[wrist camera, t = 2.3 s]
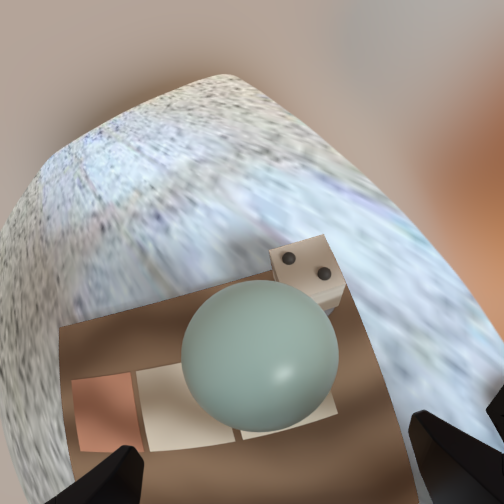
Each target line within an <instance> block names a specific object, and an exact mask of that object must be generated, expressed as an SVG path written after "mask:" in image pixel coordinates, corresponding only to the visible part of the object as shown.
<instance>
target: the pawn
mask: <svg viewBox="0 0 504 504" xmlns="http://www.w3.org/2000/svg"><path fill="white" fill-rule="evenodd" d="M338 362H339V350H338V343H337V338H336V335H335V331H334V329H333V326H332V324H331V322H330V320H329V318H328V317H327V315H326V313H325V312H324V311H323V310H322V308H321V307H320V306H319V305H318V304H317V303H316V302H315V301H314V300H313V299H312V298H310V297H309V296H308V295H306V294H305V293H304V292H302V291H300V290H298V289H297V288H295V287H292V286H290V285H287V284H284V283H280V282H276V281H269V280H252V281H245V282H240V283H237V284H234V285H231V286H228V287H226V288H224V289H222V290H220V291H219V292H217V293H215V294H214V295H212V296H211V297H210V298H209V299H208V300H206V301H205V302H204V303H203V304H202V305H201V306H200V308H199V309H198V310H197V311H196V313H195V314H194V316H193V317H192V319H191V321H190V322H189V324H188V327H187V329H186V331H185V335H184V338H183V342H182V349H181V363H182V370H183V374H184V378H185V381H186V384H187V386H188V389H189V391H190V393H191V394H192V396H193V398H194V399H195V400H196V402H197V403H198V404H199V405H200V407H202V408H203V409H204V410H205V411H206V412H207V413H208V414H209V415H210V416H212V417H213V418H214V419H216V420H217V421H219V422H221V423H223V424H225V425H226V426H229V427H232V428H234V429H238V430H242V431H247V432H271V431H277V430H281V429H284V428H287V427H290V426H292V425H294V424H296V423H298V422H300V421H302V420H303V419H305V418H306V417H308V416H309V415H310V414H311V413H313V412H314V411H315V410H316V409H317V408H318V407H319V406H320V404H321V403H322V402H323V401H324V399H325V398H326V396H327V395H328V393H329V392H330V390H331V387H332V385H333V383H334V380H335V377H336V374H337V369H338Z"/></svg>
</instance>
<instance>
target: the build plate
mask: <svg viewBox="0 0 504 504" xmlns="http://www.w3.org/2000/svg"><path fill="white" fill-rule="evenodd" d="M486 412H487V414H488V415H489V417H490V419H491V420H492V422H493V424H494V426H495V427H496V429H497V431H498V433H499V435H500V436H501V438H502V440H503V442H504V385H503V387H502V388H501V389H500V391H499V392H498V394H497V395H496V396H495V398H494V399H493V400H492V402H491V403H490V404H489V406H488V407H487V408H486Z"/></svg>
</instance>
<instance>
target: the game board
mask: <svg viewBox="0 0 504 504" xmlns="http://www.w3.org/2000/svg"><path fill="white" fill-rule="evenodd" d="M269 254H270V260H271V265H272V270H270V271H267V272H263V273H260V274H256V275H253V276H250V277H246V278H243V279H239V280H236V281H232V282H229V283H225V284H222V285H218V286H215V287H211V288H208V289H204V290H201V291H197V292H193V293H190V294H186V295H183V296H179V297H175V298H172V299H168V300H164V301H161V302H157V303H153V304H149V305H146V306H142V307H138V308H134V309H131V310H127V311H123V312H119V313H115V314H111V315H108V316H104V317H100V318H96V319H92V320H88V321H84V322H80V323H76V324H72V325H68V326H64V327H60V328H59V366H60V386H61V399H62V409H63V418H64V425H65V432H66V439H67V445H68V450H69V455H70V460H71V465H72V470H73V474H74V478H75V482H76V481H77V480H78V479H80V478H81V477H82V476H84V475H85V474H86V473H87V472H89V471H90V470H91V469H93V468H94V467H95V466H97V465H98V464H99V463H100V462H102V461H103V460H104V459H105V458H107V457H108V456H109V455H110V454H112V453H113V452H114V451H115V450H117V449H118V448H119V447H120V446H122V445H130V446H134V447H135V448H136V449H137V451H138V452H139V454H140V455H141V457H142V458H143V460H144V473H143V482H142V491H141V499H140V504H418V503H419V499H418V495H417V490H416V486H415V482H414V478H413V474H412V470H411V466H410V462H409V459H408V455H407V451H406V448H405V444H404V441H403V437H402V434H401V431H400V427H399V424H398V421H397V417H396V414H395V411H394V408H393V405H392V402H391V399H390V396H389V393H388V390H387V387H386V384H385V381H384V378H383V375H382V373H381V370H380V367H379V364H378V362H377V359H376V356H375V353H374V351H373V348H372V345H371V343H370V340H369V338H368V335H367V332H366V330H365V327H364V325H363V322H362V320H361V317H360V315H359V312H358V310H357V308H356V305H355V303H354V300H353V298H352V296H351V293H350V291H349V289H348V286H347V284H346V282H345V279H344V277H343V275H342V272H341V270H340V268H339V266H338V263H337V261H336V259H335V257H334V255H333V252H332V251H331V249H330V247H329V244H328V242H327V240H326V238H325V236H324V234H322V235H319V236H316V237H312V238H309V239H305V240H302V241H299V242H295V243H292V244H288V245H285V246H281V247H278V248H275V249H271V250H269ZM252 280H269V281H276V282H280V283H284V284H287V285H290V286H292V287H295V288H297V289H298V290H300V291H302V292H304V293H305V294H306V295H308V296H309V297H310V298H312V299H313V300H314V301H315V302H316V303H317V304H318V305H319V306H320V307H321V308H322V310H323V311H324V312H325V313H326V315H327V317H328V318H329V320H330V322H331V324H332V326H333V329H334V331H335V335H336V338H337V343H338V350H339V362H338V369H337V374H336V377H335V380H334V383H333V385H332V387H331V390H330V392H329V393H328V395H327V396H326V398H325V399H324V401H323V402H322V403H321V404H320V406H319V407H318V408H317V409H316V410H315V411H314V412H313V413H311V414H310V415H309V416H308V417H306V418H305V419H303V420H302V421H300V422H298V423H296V424H294V425H292V426H290V427H287V428H284V429H281V430H277V431H271V432H247V431H242V430H238V429H234V428H232V427H229V426H226V425H225V424H223V423H221V422H219V421H217V420H216V419H214V418H213V417H212V416H210V415H209V414H208V413H207V412H206V411H205V410H204V409H203V408H202V407H200V405H199V404H198V403H197V402H196V400H195V399H194V398H193V396H192V394H191V393H190V391H189V389H188V386H187V384H186V381H185V378H184V374H183V370H182V363H181V349H182V342H183V338H184V335H185V331H186V329H187V327H188V324H189V322H190V321H191V319H192V317H193V316H194V314H195V313H196V311H197V310H198V309H199V308H200V306H201V305H202V304H203V303H204V302H205V301H206V300H208V299H209V298H210V297H211V296H212V295H214V294H215V293H217V292H219V291H220V290H222V289H224V288H226V287H228V286H231V285H234V284H237V283H240V282H245V281H252Z"/></svg>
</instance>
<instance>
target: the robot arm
mask: <svg viewBox="0 0 504 504" xmlns="http://www.w3.org/2000/svg"><path fill="white" fill-rule="evenodd" d="M408 433H409V437H410V440H411V444H412V447H413V450H414V454H415V457H416V461H417V464H418V467H419V471H420V473H421V476H422V478H423V480H424V483H425V485H426V487H427V490H428V492H429V495H430V497H431V499H432V502H433V504H504V453H503V454H502V453H501V452H500V451H498V450H496V449H494V448H492V447H490V446H488V445H487V444H485V443H483V442H481V441H479V440H477V439H475V438H474V437H472V436H470V435H468V434H466V433H465V432H463V431H461V430H459V429H458V428H456V427H454V426H452V425H451V424H449V423H447V422H445V421H444V420H442V419H440V418H438V417H437V416H435V415H433V414H432V413H430V412H428V411H426V410H421V411H418V412H415V413H413V415H412V417H411V421H410V425H409V429H408ZM143 473H144V460H143V458H142V457H141V455H140V454H139V452H138V451H137V449H136V448H135V447H134V446H130V445H122V446H120V447H119V448H118V449H117V450H115V451H114V452H113V453H112V454H110V455H109V456H108V457H107V458H105V459H104V460H103V461H102V462H100V463H99V464H98V465H97V466H95V467H94V468H93V469H91V470H90V471H89V472H87V473H86V474H85V475H84V476H82V477H81V478H80V479H78V480H77V481H76V482H74V483H73V484H72V485H70V486H69V487H67V488H66V489H65V490H63V491H62V492H61V493H59V494H58V495H57V496H55V497H53V498H52V499H51V500H49V501H48V502H46V503H45V504H140V499H141V491H142V482H143Z"/></svg>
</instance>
